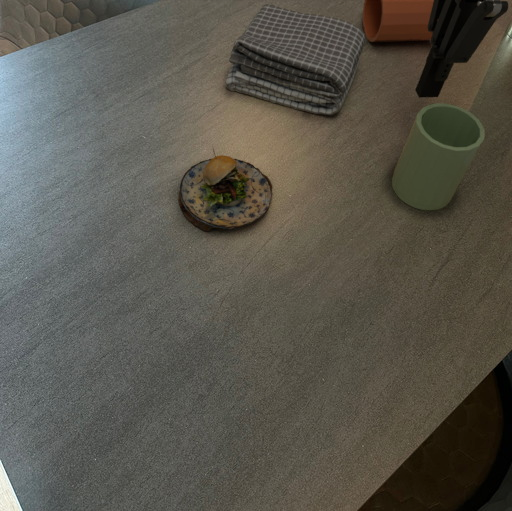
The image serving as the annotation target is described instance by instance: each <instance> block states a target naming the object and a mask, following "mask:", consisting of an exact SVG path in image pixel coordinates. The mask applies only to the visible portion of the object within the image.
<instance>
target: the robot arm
mask: <svg viewBox="0 0 512 511" xmlns="http://www.w3.org/2000/svg"><path fill="white" fill-rule="evenodd" d="M508 10H509V2H508V0H434V2H433V6H432V10H431V14H430V19H429V23H428V31H429V32H432V33H433V34H432V37H431V40H430V44H431V47H430V49H429V52H428V54H427V57H426V59H425V63H424V66H423V69H422V71H421V74H420V77H419V79H418V82H417V84H416V87H415V89H414V91H415V93H416V96H417V97H418V98H422V99H423V98H439V96H440V94H441V91H442V90H443V87H444V84H445V82H446V81H447V79H448V78H449V76H450V73H451V71H452V68H453V66H454V64H467V63H468V62H469V61H470V59H471V58H472V56H473V55H474V53H475V52H476V51H477V49H478V48H479V46H480V45H481V43H482V42H483V41H484V39H485V37H486V36H487V34H488V33H489V32H490V30H491V29H492V27H493V25H494V24H495V22H496V21H497V20H498V19H499V18H500V17H502V16H503V15H505V14H506V13H507V12H508ZM437 20H438V21H437Z"/></svg>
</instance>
